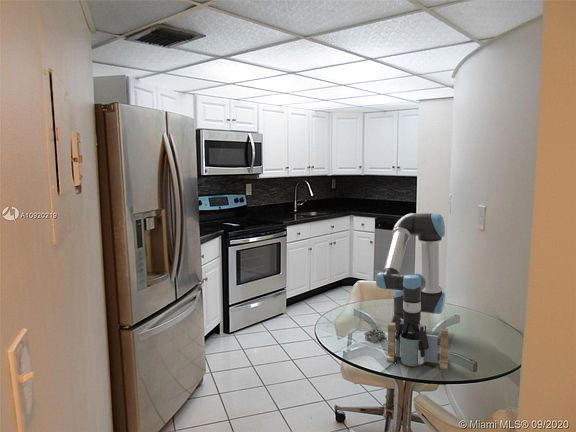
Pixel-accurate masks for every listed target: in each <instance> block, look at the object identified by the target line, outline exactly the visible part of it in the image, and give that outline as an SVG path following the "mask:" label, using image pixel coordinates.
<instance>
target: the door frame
mask: <svg viewBox="0 0 576 432" xmlns="http://www.w3.org/2000/svg"><path fill="white" fill-rule="evenodd" d="M395 337H396V323H391V322H390V321H389V322H388V324H387V356H386V362H391V363H394V361H395V360H396V338H395ZM439 362H440V363H439V368H440V369H442V370H448V366H449V328H445V327H441V328H440V361H439Z"/></svg>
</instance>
